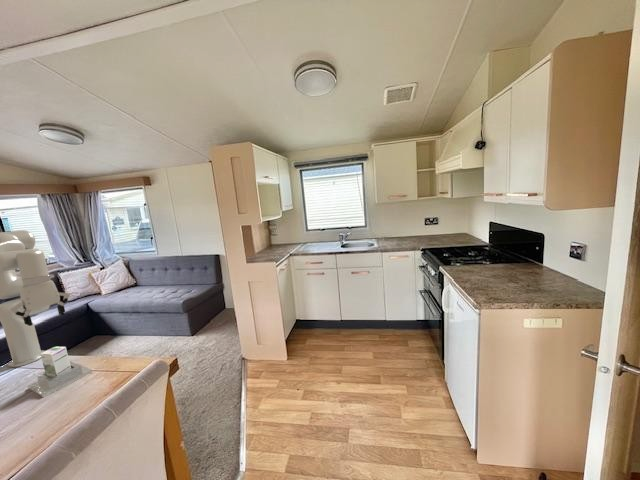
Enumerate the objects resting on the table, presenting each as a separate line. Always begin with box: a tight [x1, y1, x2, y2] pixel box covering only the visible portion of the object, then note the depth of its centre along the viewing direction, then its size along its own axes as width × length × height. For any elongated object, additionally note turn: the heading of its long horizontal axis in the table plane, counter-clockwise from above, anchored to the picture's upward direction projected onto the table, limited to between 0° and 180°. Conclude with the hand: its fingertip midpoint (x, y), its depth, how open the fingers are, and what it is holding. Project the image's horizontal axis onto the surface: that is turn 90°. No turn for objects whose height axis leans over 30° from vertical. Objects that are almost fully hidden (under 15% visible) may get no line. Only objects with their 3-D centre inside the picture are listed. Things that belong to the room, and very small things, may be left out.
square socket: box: [27, 360, 93, 398], centre depth 110 cm, size 14×16×4 cm
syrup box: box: [40, 346, 71, 378], centre depth 109 cm, size 6×6×14 cm
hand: (46, 319), depth 106 cm, fingers open, 9 cm apart
